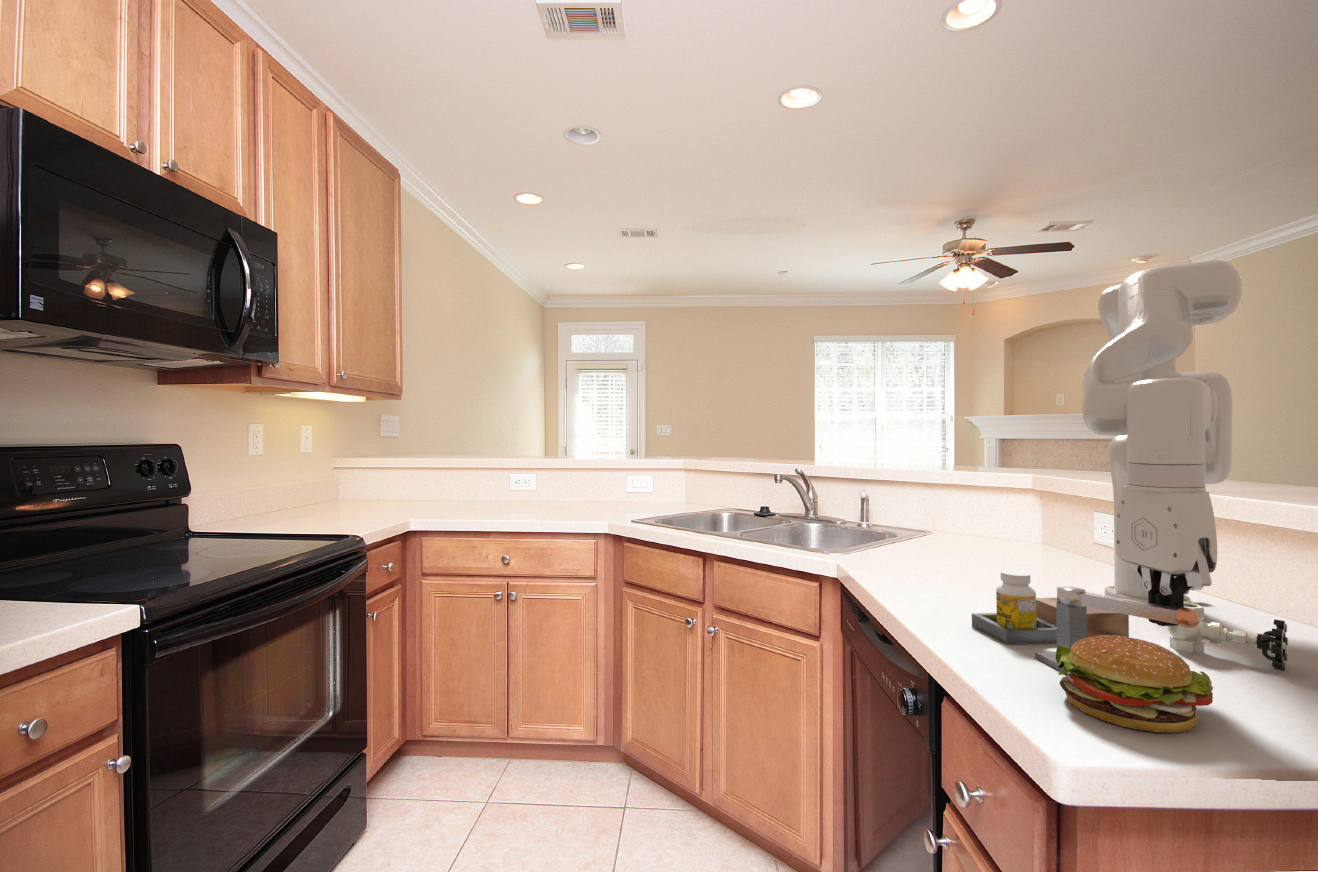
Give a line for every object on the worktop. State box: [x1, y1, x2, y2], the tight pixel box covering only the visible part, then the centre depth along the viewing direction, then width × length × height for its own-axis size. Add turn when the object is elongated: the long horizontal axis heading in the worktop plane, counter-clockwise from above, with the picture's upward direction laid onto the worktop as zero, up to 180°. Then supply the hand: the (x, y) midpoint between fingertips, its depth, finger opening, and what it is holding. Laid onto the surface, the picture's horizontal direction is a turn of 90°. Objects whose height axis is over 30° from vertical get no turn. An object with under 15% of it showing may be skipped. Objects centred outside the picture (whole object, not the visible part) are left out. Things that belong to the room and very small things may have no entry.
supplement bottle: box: [995, 569, 1037, 629], centre depth 95 cm, size 5×5×10 cm
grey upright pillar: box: [1034, 602, 1087, 676], centre depth 82 cm, size 6×6×8 cm
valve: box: [1167, 602, 1289, 672], centre depth 84 cm, size 7×7×12 cm
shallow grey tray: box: [971, 612, 1057, 646], centre depth 95 cm, size 9×9×2 cm
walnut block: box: [1036, 597, 1130, 638], centre depth 96 cm, size 9×9×4 cm
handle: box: [1056, 585, 1200, 628], centre depth 77 cm, size 15×3×2 cm, turn 36°
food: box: [1055, 635, 1214, 733], centre depth 68 cm, size 14×14×8 cm
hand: (1165, 623), depth 76 cm, fingers closed
